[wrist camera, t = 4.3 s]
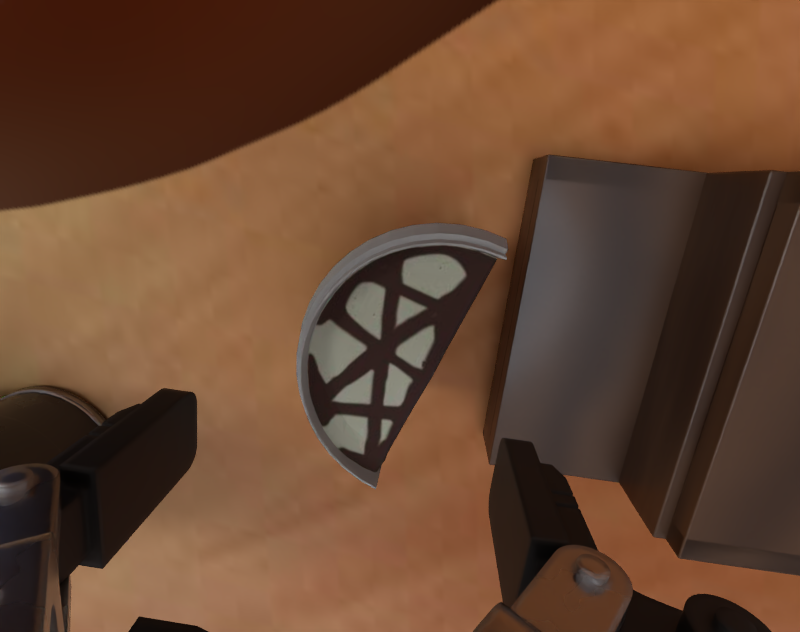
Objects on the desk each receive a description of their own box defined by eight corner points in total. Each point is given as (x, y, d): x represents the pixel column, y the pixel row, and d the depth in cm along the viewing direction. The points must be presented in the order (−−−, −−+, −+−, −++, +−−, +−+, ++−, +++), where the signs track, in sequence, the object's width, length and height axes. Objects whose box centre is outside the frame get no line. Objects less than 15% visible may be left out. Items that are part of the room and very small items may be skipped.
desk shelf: (482, 433, 30) (502, 533, 21) (533, 158, 25) (585, 144, 17) (733, 467, 30) (858, 585, 21) (832, 193, 25) (1047, 197, 16)
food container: (388, 173, 26) (362, 166, 16) (485, 223, 26) (514, 245, 17) (303, 355, 29) (241, 437, 20) (390, 397, 30) (370, 498, 20)
